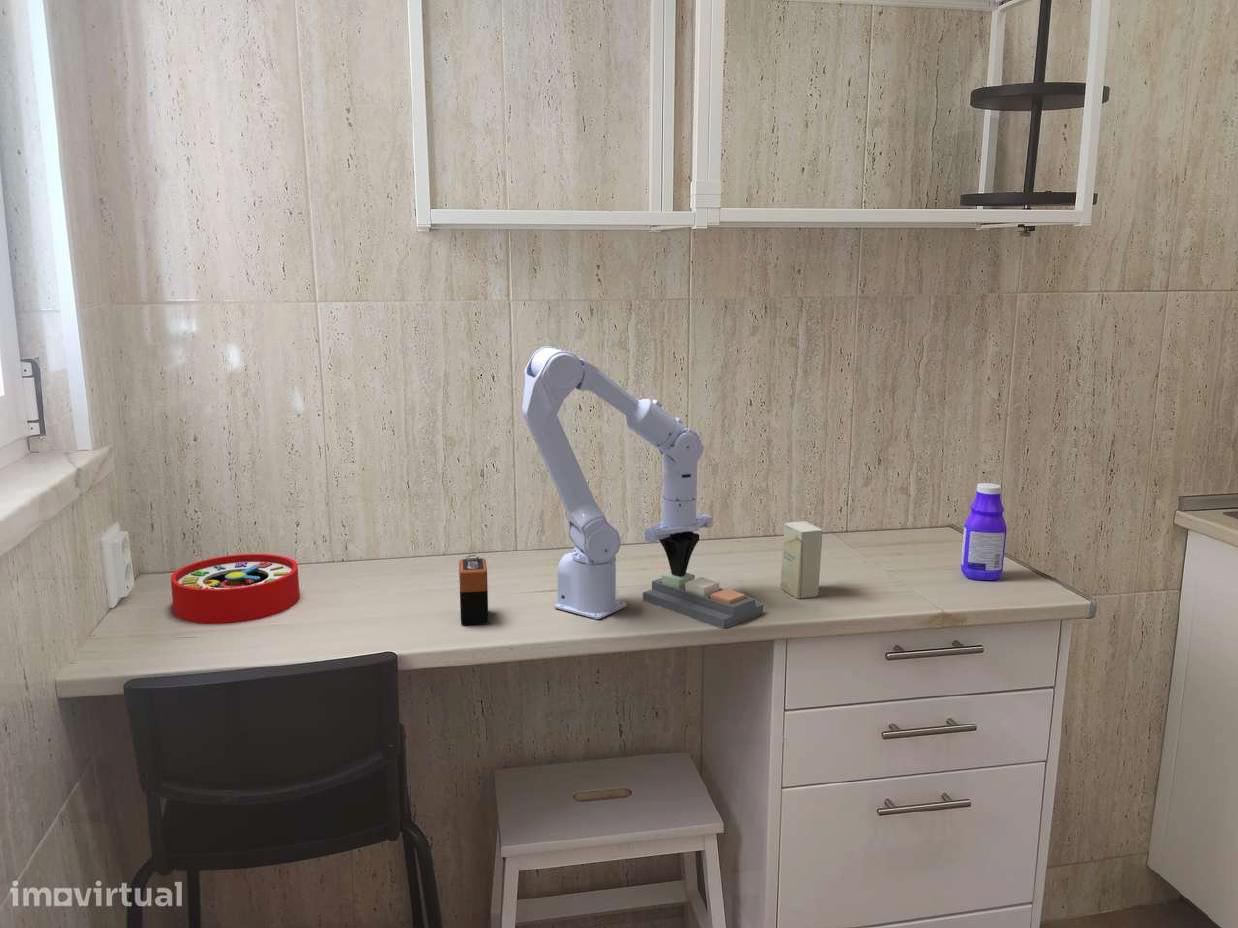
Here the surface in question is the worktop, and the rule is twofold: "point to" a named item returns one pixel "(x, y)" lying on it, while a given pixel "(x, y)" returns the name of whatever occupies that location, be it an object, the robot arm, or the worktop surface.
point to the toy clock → (235, 588)
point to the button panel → (702, 605)
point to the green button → (676, 579)
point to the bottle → (984, 535)
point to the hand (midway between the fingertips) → (678, 574)
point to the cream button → (702, 586)
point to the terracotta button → (727, 596)
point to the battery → (473, 590)
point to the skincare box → (801, 559)
